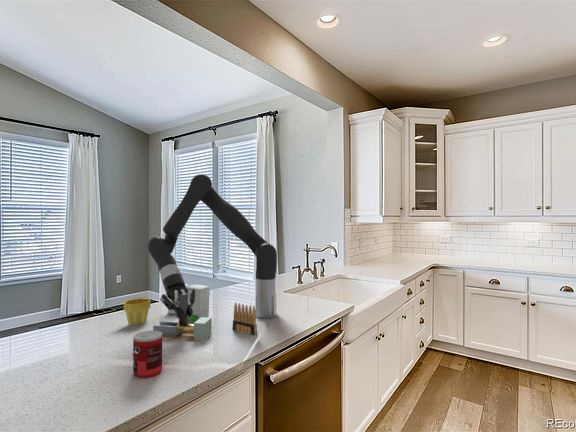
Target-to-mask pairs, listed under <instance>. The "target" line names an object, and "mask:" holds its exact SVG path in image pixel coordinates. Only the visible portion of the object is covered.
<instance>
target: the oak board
mask: <svg viewBox="0 0 576 432" xmlns="http://www.w3.org/2000/svg"><path fill="white" fill-rule="evenodd" d="M211 334H213V331H211ZM162 341H179V342H183V341H184V342H196V343H203V342H204V341H205V340H194V334H187V333H182V334H181V335H179V336H178V337H177V338H170V337H162Z"/></svg>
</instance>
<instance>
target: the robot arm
mask: <svg viewBox="0 0 576 432" xmlns="http://www.w3.org/2000/svg"><path fill="white" fill-rule="evenodd" d="M200 202H202V203H203V204H204V205H206V206H207V208H209V209H210V210H211V212H212V213H213V214H214V215H215V217H216V218H217V219H218V220H219V221H220V222H221V223H222V225H224V226H225V228H227V230H228V231H229V232H231V233H232V235H233V236H236V238H237V239H239V240H241V241H242V242H243V243H244V244H245V245H246V246H247V247H248V248H249V249H250V251H251V252H252V253H253V255H254V256H255V258H256V259H255V261H256V264H255V265H256V266H255V267H256V268H255V269H256V270H255V305H254V306H255V313H256V318H260V319H270V318H272V319H274V318H276V315H277V293H276V292H277V291H276V290H277V289H276V287H277V286H276V285H277V283H276V278H277V269H278V268H277V266H278V265H277V263H278V259H277V258H278V254H277V249H276V248H275V247H274V245H272V244H271V243H269V242H268V241H266V240H265V239H264V238H263V237H262V236H261V235H260V234H258V232H257V231H256V230H255V229H254V227H253V226H252V224H251V223H250V222H249V220H248V219H247V218H246V217H245V216H244V214H243V213H242V212H241V211H239V210H238V208H236V207H235V205H232V204H231V203H230V202H228V201H227V200H226V199H224V198H222V197H221V196H220V194H219V193H218V192H217V191H216V190H215V189H214V188H213V183H212V179H211V178H210V177H209V176H208V175H206V174H203V173H202V174H201V173H200V174H199V173H198V174H197V175H194V176H193V178H192V179H191V180H190V183H189V186H188V189H187V191H186V193H185V195H184V196H183V198H182V200H181V201H180V202H179V204H178V206H177V207H176V209H175V210H174V211H173V213H172V214H171V216H170V217H169V218H168V220H167V221H166V223H165V224H164V226H163V228H162V231H163V232H164V238H163V237H161V236H153V237H151V238H150V239H149V241H148V244H147V248H148V252H149V254H150V255H151V257H152V259H153V260H154V262H155V263H156V266H157V268H158V271H159V275H160V280H161V283H162V284H163V287H164V291H165V294H162V295H161V297H160V298H159V300H160V301H161V303H162V304H163V305H164V306H165V308H167V309H169V310H171V309H172V310H174V311H175V313H176V314H175V316H176V318H178V320H179V319H181V318H182V316H183V315H182V312H181V309H180V307H179V304H178V301H179V294H181V293H188V294H189V297H190V301H189V299H188V316H189V317H190V316H191V315H192V313H193V310H192V307H191V306H192V305H193V303H194V302H195V290H192V291H190V290H188V289H187V288H186V287H185V284H186V283H185V281H184V278H183V275H182V273H181V270H180V268H179V266H178V264H177V261H176V259H175V258H174V256H173V254H172V253H173V251H174V249H175V246H176V244H177V241H178V239H179V235H180V234H181V233H182V231H183V229H184V227H185V226H186V224H187V223H188V222H189V219H190V218H191V216H192V214H193V212H194V210H195V209H196V207H197V206H198V204H199V203H200ZM168 298H169V299H171V300H172V302H171V301H170V300H169V299H168Z"/></svg>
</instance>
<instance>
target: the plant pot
mask: <svg viewBox="0 0 576 432" xmlns="http://www.w3.org/2000/svg"><path fill="white" fill-rule="evenodd" d="M150 308H151V299H150V298H145V297H143V298H142V297H141V298H140V297H139V298H132V299H129V300H125V301H123V311H124V312H125V314H126V319H127V323H128V325H129V326H131V325H138V324H139V325H140V324H144V323H146V322H147V320H148V315H149V309H150Z"/></svg>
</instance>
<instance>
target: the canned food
mask: <svg viewBox="0 0 576 432" xmlns="http://www.w3.org/2000/svg"><path fill="white" fill-rule="evenodd" d="M162 369H163V340H162V333H161V332H159V331H153V330H145V331H141V332H137V333H136V334H134V335H133V339H132V372H133V375H134V377H136V378H138V379H139V378H140V379H148V378H154V377H155V376H157V375H160V374H161V372H162Z"/></svg>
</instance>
